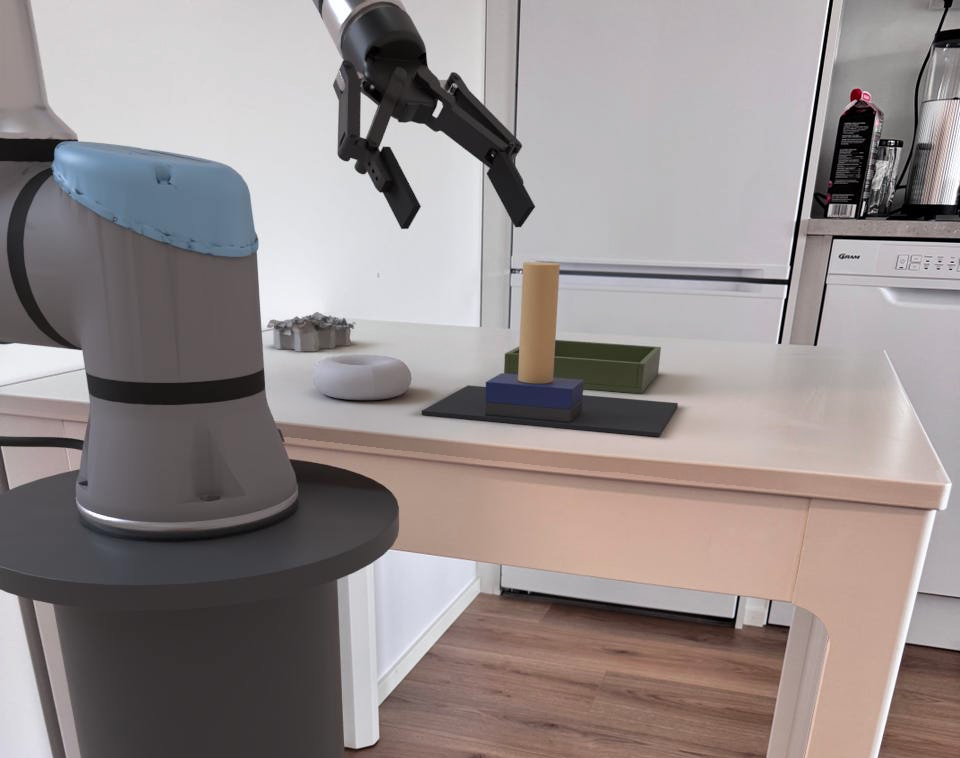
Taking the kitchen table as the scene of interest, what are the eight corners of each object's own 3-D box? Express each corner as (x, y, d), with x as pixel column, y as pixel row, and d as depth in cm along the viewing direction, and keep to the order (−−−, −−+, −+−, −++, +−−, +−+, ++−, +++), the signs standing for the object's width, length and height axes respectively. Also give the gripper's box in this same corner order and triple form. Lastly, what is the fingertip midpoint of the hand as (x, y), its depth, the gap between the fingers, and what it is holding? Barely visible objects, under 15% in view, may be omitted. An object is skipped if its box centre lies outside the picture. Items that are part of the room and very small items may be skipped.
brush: (484, 415, 87) (489, 262, 81) (499, 405, 91) (505, 259, 86) (570, 423, 85) (580, 267, 79) (581, 412, 89) (592, 263, 83)
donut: (378, 383, 103) (294, 389, 97) (378, 350, 101) (293, 354, 96) (430, 398, 96) (344, 407, 90) (431, 363, 94) (343, 369, 89)
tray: (503, 382, 104) (504, 353, 103) (533, 364, 116) (534, 338, 114) (641, 393, 100) (644, 363, 99) (658, 374, 112) (661, 346, 110)
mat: (421, 414, 88) (421, 410, 88) (467, 389, 100) (467, 385, 100) (658, 437, 82) (659, 432, 82) (677, 406, 94) (677, 402, 94)
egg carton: (305, 354, 119) (303, 319, 117) (262, 347, 123) (260, 314, 121) (361, 344, 127) (360, 312, 125) (319, 338, 131) (318, 307, 129)
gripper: (271, -17, 81) (373, 184, 77) (493, 17, 95) (588, 188, 92) (246, 59, 87) (341, 249, 83) (459, 81, 101) (547, 243, 98)
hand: (470, 217), depth 87 cm, fingers open, 13 cm apart
